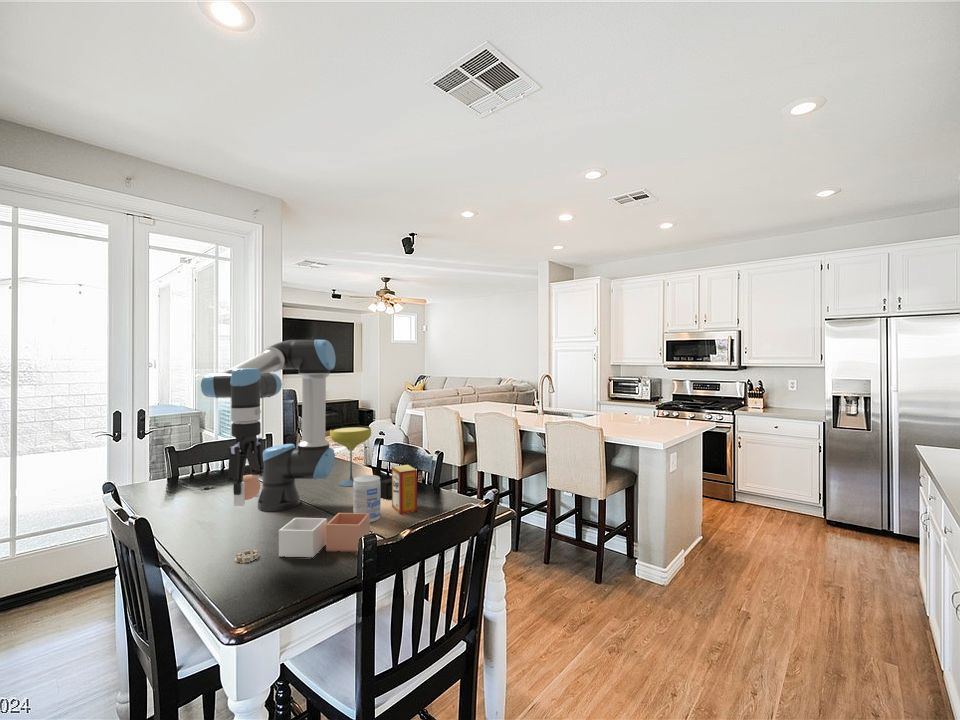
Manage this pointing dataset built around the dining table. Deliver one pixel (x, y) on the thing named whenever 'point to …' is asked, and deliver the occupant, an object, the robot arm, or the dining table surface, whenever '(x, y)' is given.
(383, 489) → the digital camera
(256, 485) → the ball
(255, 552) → the ball stand
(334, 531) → the terracotta open box
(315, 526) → the white open box
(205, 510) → the dining table surface
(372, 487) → the supplement tub
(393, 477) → the baking soda box
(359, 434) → the cocktail glass
